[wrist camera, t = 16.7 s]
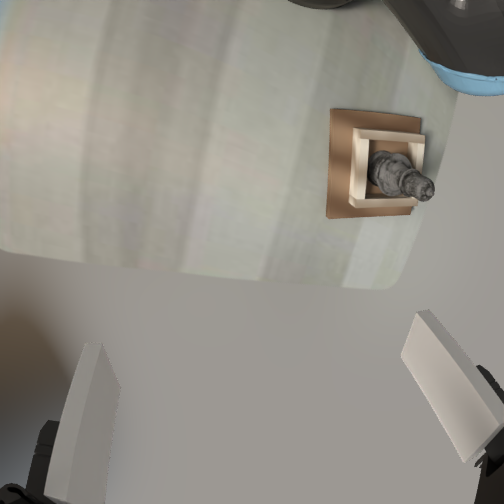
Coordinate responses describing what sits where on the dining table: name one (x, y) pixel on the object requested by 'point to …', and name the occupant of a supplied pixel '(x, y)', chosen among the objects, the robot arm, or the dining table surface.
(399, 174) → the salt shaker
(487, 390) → the robot arm
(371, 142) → the caddy
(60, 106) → the dining table surface
